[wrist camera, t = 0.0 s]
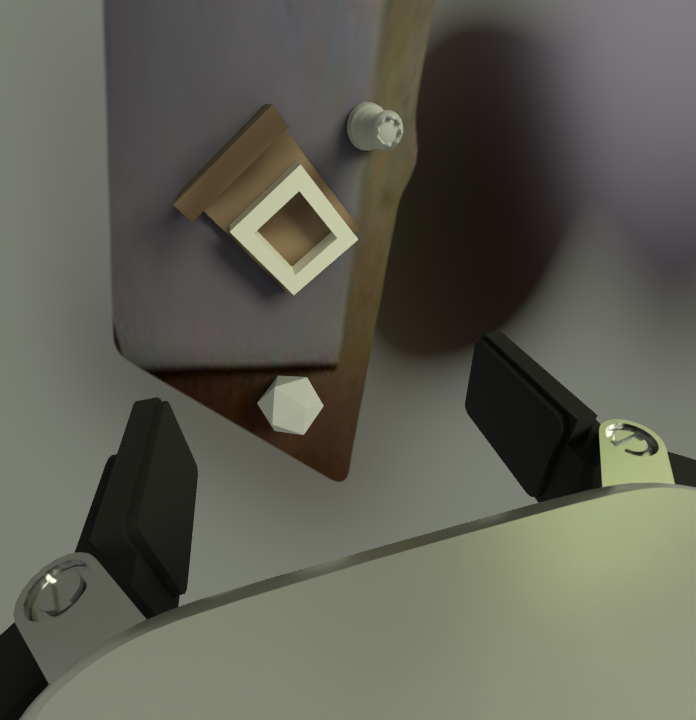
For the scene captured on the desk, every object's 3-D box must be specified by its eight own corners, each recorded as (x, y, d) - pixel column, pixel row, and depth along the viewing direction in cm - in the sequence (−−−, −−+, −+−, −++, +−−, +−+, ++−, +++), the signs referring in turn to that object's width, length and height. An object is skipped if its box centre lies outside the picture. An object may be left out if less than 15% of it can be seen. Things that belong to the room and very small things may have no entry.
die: (246, 394, 57) (270, 452, 55) (258, 370, 50) (285, 436, 48) (294, 379, 62) (318, 433, 59) (310, 356, 55) (338, 415, 52)
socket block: (229, 224, 42) (229, 231, 39) (296, 160, 40) (300, 164, 37) (291, 285, 47) (293, 295, 45) (351, 232, 45) (358, 239, 43)
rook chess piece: (358, 159, 42) (380, 169, 36) (337, 119, 40) (357, 122, 33) (392, 133, 42) (420, 140, 35) (372, 91, 39) (400, 90, 33)
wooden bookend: (183, 188, 40) (173, 204, 33) (265, 103, 37) (272, 104, 31) (286, 290, 49) (294, 318, 42) (358, 227, 46) (377, 247, 40)
